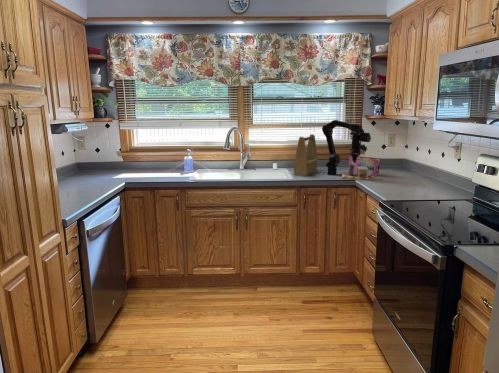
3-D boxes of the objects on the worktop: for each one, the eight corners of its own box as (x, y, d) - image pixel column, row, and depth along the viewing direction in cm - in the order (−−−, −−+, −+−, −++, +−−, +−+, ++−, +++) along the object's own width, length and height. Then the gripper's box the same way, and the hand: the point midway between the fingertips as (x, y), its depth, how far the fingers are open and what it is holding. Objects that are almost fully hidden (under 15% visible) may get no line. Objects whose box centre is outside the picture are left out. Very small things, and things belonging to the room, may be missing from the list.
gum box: (380, 175, 295) (382, 158, 292) (376, 176, 289) (377, 159, 286) (352, 171, 311) (354, 155, 308) (348, 172, 305) (349, 156, 302)
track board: (342, 178, 279) (342, 176, 279) (341, 175, 291) (342, 174, 290) (373, 180, 275) (373, 178, 274) (371, 177, 286) (371, 175, 286)
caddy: (306, 176, 288) (308, 136, 282) (293, 174, 293) (294, 136, 287) (316, 170, 314) (318, 134, 308) (304, 169, 319) (306, 134, 312)
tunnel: (357, 177, 277) (358, 168, 275) (356, 174, 288) (357, 166, 287) (367, 178, 275) (368, 169, 274) (366, 175, 287) (366, 166, 285)
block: (359, 175, 280) (360, 170, 279) (359, 174, 284) (359, 169, 283) (365, 175, 279) (365, 170, 278) (364, 174, 283) (365, 169, 282)
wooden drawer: (349, 176, 280) (350, 165, 278) (348, 174, 287) (349, 163, 286) (367, 177, 277) (368, 166, 275) (366, 175, 285) (367, 164, 283)
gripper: (368, 142, 268) (366, 164, 272) (365, 140, 286) (363, 160, 290) (352, 142, 270) (350, 163, 274) (350, 139, 288) (348, 159, 292)
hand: (354, 161), depth 282 cm, fingers open, 9 cm apart
